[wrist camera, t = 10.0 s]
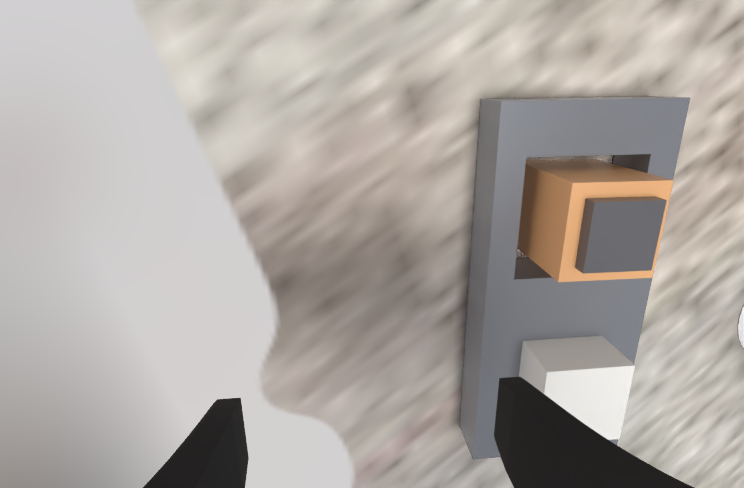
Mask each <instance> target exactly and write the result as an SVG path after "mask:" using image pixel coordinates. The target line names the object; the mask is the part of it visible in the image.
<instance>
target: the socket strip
mask: <svg viewBox="0 0 744 488" xmlns="http://www.w3.org/2000/svg"><path fill="white" fill-rule="evenodd" d="M689 101H690V98H684V97H657V96H630V97H570V98H510V99H481V101H480V116H479V132H478V147H477V163H476V178H475V194H474V209H473V225H472V240H471V256H470V271H469V287H468V302H467V318H466V333H465V349H464V364H463V380H462V395H461V411H460V428H461V431H462V433H463V436H464V438H465V441H466V443H467V446H468V448H469V451H470V453H471V456H472V458H473V459H483V458H494V457H501V456H500V453H499V450H498V447H497V444H496V441H495V438H494V429H495V418H496V408H497V398H498V387H499V378H507V377H522V378H523V379H524V380H526V381H527V382H529V383H530V384H531V385H533V386H534V387H535V388H537V389H538V390H539V391H541V392H542V393H543V394H545V395H546V396H547V397H549V398H550V399H551V400H553V401H554V402H555V403H557V404H558V405H559V406H561V407H562V408H563V409H565V410H566V411H567V412H569V413H570V414H571V415H573V416H574V417H576V418H577V419H578V420H580V421H581V422H583V423H584V424H585V425H587V426H588V427H590V428H591V429H593V430H594V431H596V432H597V433H599V434H600V435H602V436H603V437H605V438H606V439H608V440H609V441H611V442H612V443H614V444H615V445H617V442H618V439H620V435H621V430H622V425H623V420H624V416H625V411H626V406H627V402H628V397H629V392H630V388H631V383H632V378H633V373H634V369H635V365H634V361H635V357H636V352H637V347H638V342H639V338H640V333H641V328H642V324H643V319H644V314H645V309H646V305H647V300H648V295H649V290H650V286H651V281H652V278H637V279H616V280H595V281H574V282H557V281H556V280H555V279H554V278H553V277H551V276H550V275H549V274H548V273H547V272H545V271H544V270H543V269H542V268H541V267H539V266H538V265H537V264H536V263H535V262H533V261H532V260H531V259H530V258H516V254H517V244H518V235H519V225H520V215H521V205H522V195H523V185H524V175H525V165H526V158H529V157H563V156H597V155H614V157H613V164H615V165H619V166H623V167H627V168H630V169H634V170H638V171H641V172H645V173H649V174H652V175H656V176H660V177H663V178H667V179H671V180H673V177H674V172H675V168H676V163H677V158H678V153H679V149H680V144H681V139H682V134H683V130H684V125H685V120H686V116H687V111H688V106H689Z"/></svg>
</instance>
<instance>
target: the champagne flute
mask: <svg viewBox="0 0 744 488" xmlns="http://www.w3.org/2000/svg"><path fill="white" fill-rule="evenodd" d="M738 333H739V339H740V342H741V344H742V346H743V348H744V307H743V308H742V312H741V315H740V318H739V324H738Z"/></svg>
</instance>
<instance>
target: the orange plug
mask: <svg viewBox="0 0 744 488" xmlns="http://www.w3.org/2000/svg"><path fill="white" fill-rule="evenodd" d="M673 181H674V180H671V179H667V178H663V177H660V176H656V175H652V174H649V173H645V172H641V171H638V170H634V169H630V168H627V167H623V166H619V165H615V164H612V163H608V162H604V161H601V160H568V161H526V165H525V175H524V185H523V195H522V205H521V215H520V225H519V235H518V244H517V248H518V249H519V250H520V251H522V252H523V253H524V254H525V255H526V256H528V257H529V258H530V259H531V260H532V261H533V262H535V263H536V264H537V265H538V266H539V267H541V268H542V269H543V270H544V271H545V272H547V273H548V274H549V275H550V276H551V277H553V278H554V279H555V280H556V281H557V282H574V281H595V280H616V279H637V278H652V277H653V272H654V268H655V263H656V259H657V254H658V250H659V245H660V240H661V236H662V231H663V227H664V222H665V218H666V213H667V208H668V204H669V199H670V195H671V190H672V186H673Z"/></svg>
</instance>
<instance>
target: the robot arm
mask: <svg viewBox="0 0 744 488" xmlns="http://www.w3.org/2000/svg"><path fill="white" fill-rule="evenodd" d="M494 438H495V441H496V444H497V447H498V450H499V453H500V456H501V458H502V461H503V464H504V467H505V469H506V472H507V474H508V476H509V478H510V480H511V482H512V484H513V486H514V488H694V487H691V486H689V485H687V484H685V483H683V482H681V481H679V480H677V479H675V478H673V477H671V476H669V475H667V474H665V473H664V472H662V471H660V470H658V469H656V468H654V467H653V466H651V465H649V464H647V463H646V462H644V461H642V460H640V459H639V458H637V457H635V456H633V455H632V454H630V453H628V452H627V451H625V450H623V449H622V448H620V447H618V446H617V445H615V444H614V443H612V442H611V441H609V440H608V439H606V438H605V437H603V436H602V435H600V434H599V433H597V432H596V431H594V430H593V429H591V428H590V427H588V426H587V425H585V424H584V423H583V422H581V421H580V420H578V419H577V418H576V417H574V416H573V415H571V414H570V413H569V412H567V411H566V410H565V409H563V408H562V407H561V406H559V405H558V404H557V403H555V402H554V401H553V400H551V399H550V398H549V397H547V396H546V395H545V394H543V393H542V392H541V391H539V390H538V389H537V388H535V387H534V386H533V385H531V384H530V383H529V382H527V381H526V380H524V379H523V378H522V377H507V378H499V387H498V398H497V408H496V418H495V429H494ZM247 465H248V451H247V444H246V436H245V428H244V421H243V413H242V405H241V399H240V398H232V399H220V400H217V401H216V402H215V403H214V404H213V405H212V406H211V407H210V409H209V410H208V411H207V413H206V414H205V415H204V417H203V418H202V419H201V421H200V422H199V423H198V425H197V426H196V427H195V428H194V430H193V431H192V432H191V433H190V435H189V436H188V437H187V438H186V439H185V441H184V442H183V443H182V444H181V445H180V447H179V448H178V449H177V450H176V451H175V453H174V454H173V455H172V456H171V457H170V459H169V460H168V461H167V462H166V463H165V464H164V465H163V467H162V468H161V469H160V470H159V471H158V472H157V473H156V474H155V475H154V477H152V479H151V480H150V481H149V482H148V483H147V484H146V485H145V486H144V487H143V488H245V481H246V474H247Z"/></svg>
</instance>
